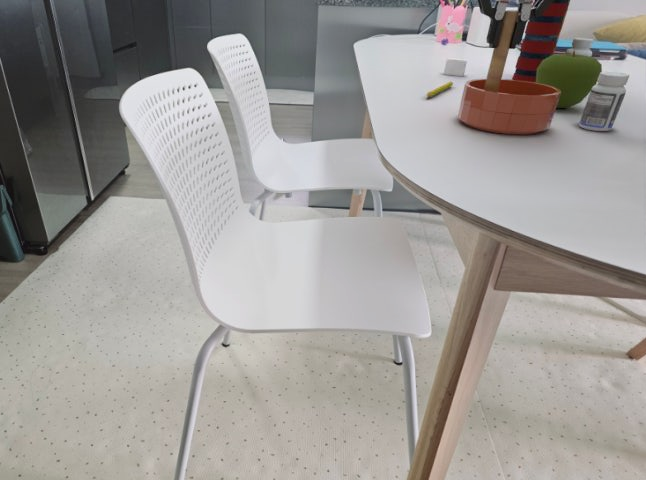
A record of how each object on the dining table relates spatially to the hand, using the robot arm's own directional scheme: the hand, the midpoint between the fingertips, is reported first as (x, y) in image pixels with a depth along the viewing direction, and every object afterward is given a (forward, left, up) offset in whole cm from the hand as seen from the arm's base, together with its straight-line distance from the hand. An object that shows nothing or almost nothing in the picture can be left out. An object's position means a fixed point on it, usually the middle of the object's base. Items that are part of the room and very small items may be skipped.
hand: (502, 47), depth 72 cm
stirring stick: (0, 0, -7) cm, 7 cm away
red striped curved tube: (-19, -41, -12) cm, 47 cm away
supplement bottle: (-28, -42, -12) cm, 52 cm away
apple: (-17, -16, -12) cm, 26 cm away
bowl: (-3, 0, -12) cm, 12 cm away
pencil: (+4, -25, -12) cm, 28 cm away
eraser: (-3, -50, -12) cm, 52 cm away
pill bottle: (-18, -1, -12) cm, 22 cm away
